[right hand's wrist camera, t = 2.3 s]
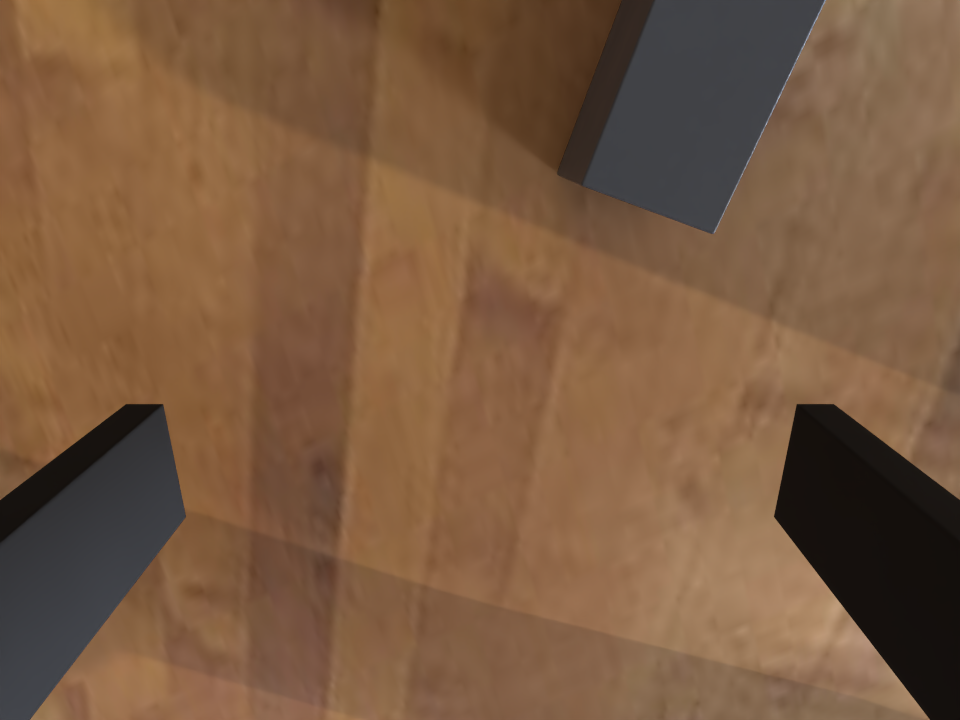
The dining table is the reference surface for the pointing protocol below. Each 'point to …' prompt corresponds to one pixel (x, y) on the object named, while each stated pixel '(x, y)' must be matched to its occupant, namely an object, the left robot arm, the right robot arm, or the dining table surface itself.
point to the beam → (684, 101)
